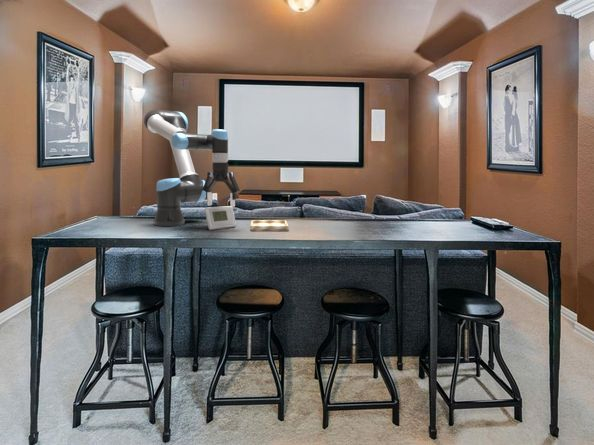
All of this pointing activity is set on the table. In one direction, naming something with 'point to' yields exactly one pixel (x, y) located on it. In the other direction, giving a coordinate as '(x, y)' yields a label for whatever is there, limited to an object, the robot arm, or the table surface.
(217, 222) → the digital clock
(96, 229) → the table surface
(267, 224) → the birch tray
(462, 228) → the table surface
